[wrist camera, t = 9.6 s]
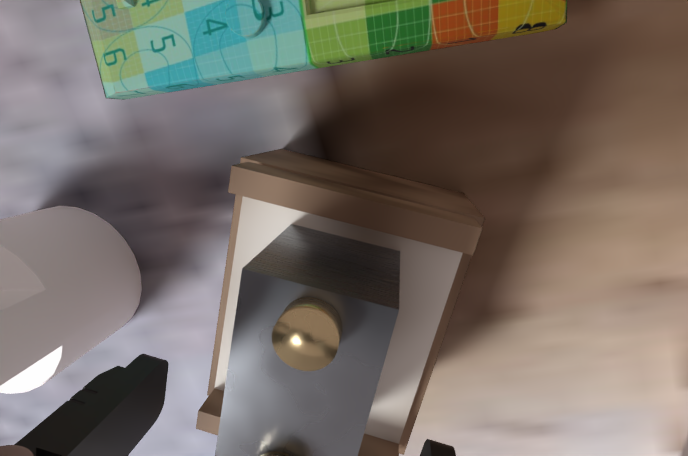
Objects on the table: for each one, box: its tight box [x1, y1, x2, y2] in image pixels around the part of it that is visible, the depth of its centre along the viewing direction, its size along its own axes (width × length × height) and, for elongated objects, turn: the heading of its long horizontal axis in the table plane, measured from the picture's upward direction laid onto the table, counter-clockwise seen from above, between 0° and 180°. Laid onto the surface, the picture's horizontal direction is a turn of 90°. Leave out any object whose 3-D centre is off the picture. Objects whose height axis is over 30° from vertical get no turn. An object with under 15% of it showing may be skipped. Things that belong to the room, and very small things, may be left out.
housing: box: [215, 224, 400, 456], centre depth 14 cm, size 8×4×6 cm, turn 168°
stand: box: [196, 149, 485, 456], centre depth 19 cm, size 10×12×8 cm
